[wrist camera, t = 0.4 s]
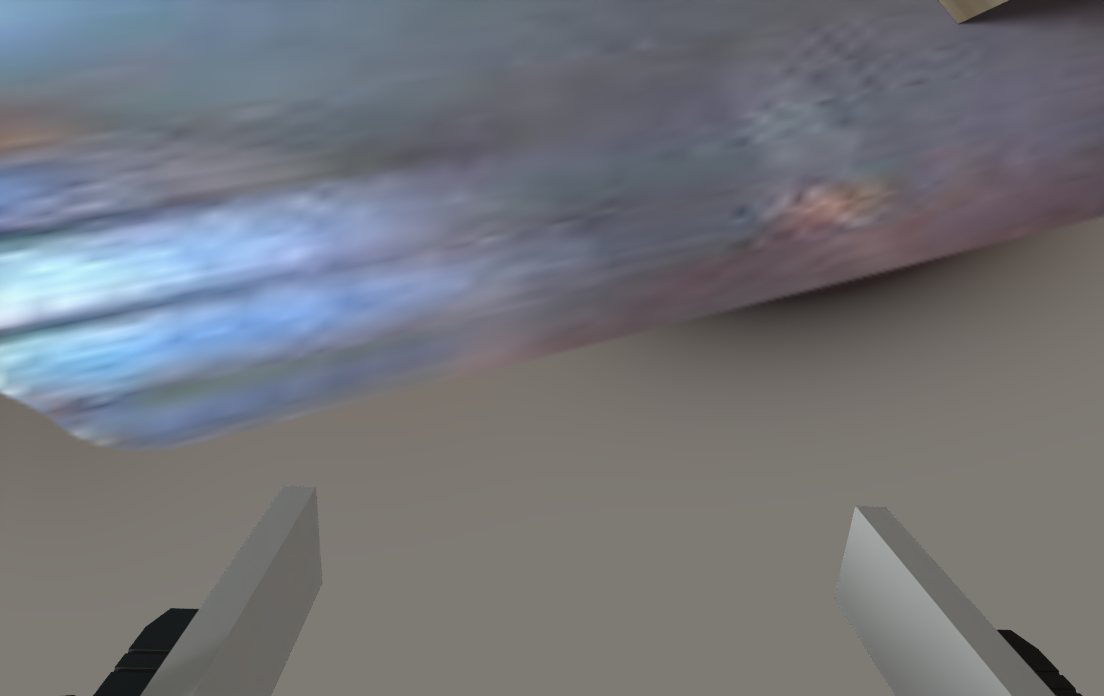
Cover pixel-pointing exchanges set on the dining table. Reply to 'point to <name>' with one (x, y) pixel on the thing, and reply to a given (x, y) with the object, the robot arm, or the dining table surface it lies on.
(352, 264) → the dining table surface
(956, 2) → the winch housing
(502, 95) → the dining table surface
